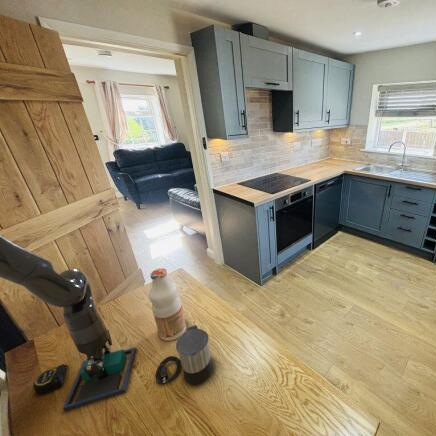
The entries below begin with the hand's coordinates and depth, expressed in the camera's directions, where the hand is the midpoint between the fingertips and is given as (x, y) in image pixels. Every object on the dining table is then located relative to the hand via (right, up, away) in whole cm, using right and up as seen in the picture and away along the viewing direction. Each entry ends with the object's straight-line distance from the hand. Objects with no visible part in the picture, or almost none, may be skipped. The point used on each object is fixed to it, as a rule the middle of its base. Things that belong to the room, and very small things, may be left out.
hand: (106, 369), depth 77 cm
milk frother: (+26, -2, 0) cm, 26 cm away
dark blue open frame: (+1, -2, -2) cm, 3 cm away
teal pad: (0, 0, 0) cm, 1 cm away
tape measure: (-14, -2, -3) cm, 14 cm away
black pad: (+2, -4, -5) cm, 7 cm away
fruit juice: (+14, +5, +15) cm, 21 cm away
